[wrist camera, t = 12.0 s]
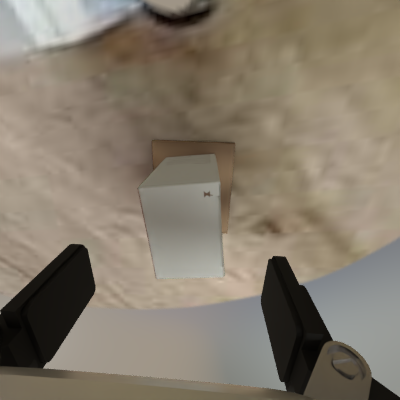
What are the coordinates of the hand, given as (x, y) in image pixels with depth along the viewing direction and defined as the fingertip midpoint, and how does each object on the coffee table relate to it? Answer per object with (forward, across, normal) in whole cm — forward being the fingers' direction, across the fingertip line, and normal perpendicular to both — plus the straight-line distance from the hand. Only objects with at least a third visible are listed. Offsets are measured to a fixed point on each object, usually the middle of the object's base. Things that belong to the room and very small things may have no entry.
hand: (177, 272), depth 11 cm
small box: (+15, 0, +1) cm, 15 cm away
